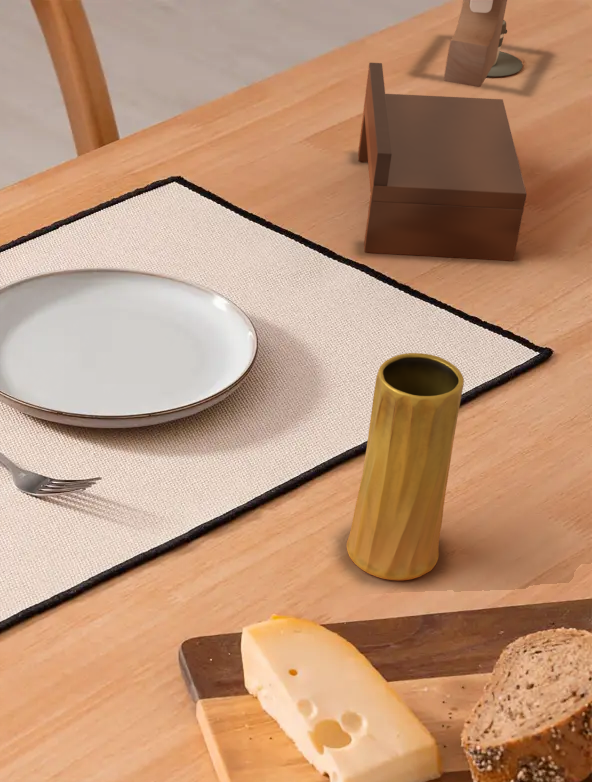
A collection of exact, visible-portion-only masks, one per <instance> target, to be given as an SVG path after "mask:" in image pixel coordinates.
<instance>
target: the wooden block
mask: <svg viewBox="0 0 592 782" xmlns="http://www.w3.org/2000/svg"><path fill="white" fill-rule="evenodd" d="M507 3H508V0H493V4H492V9H491V10H490V11H489V12H487V13H479V12H473V11H471V9H470V5H469V0H462V5H461V9H460V13H459V16H458V17H459V18H458V22H457V25H456V27H455V30H454V33H453V36H452V37H451V39H450V40H449V44H448V45H449V46H448V50H447V56H446V62H445V63H446V64H445V69H444V74H443V81H444V82H448V83H452V84H459V85H465V86H470V87H476V88H481V87H482V86H483V84H484V82H485V80H486V78H488V77H487V75H488V73H489V71H490V69H491V68H492V66H493V64H494V62H495V60H496V56H497V51H498V46H499V40H500V35H501V30H502V25H503V20H505V19H504V18H505V14H506V9H507Z"/></svg>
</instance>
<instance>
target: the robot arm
mask: <svg viewBox="0 0 592 782" xmlns="http://www.w3.org/2000/svg"><path fill="white" fill-rule="evenodd" d="M492 4H493V0H469V5H470V9H471V11H473V12H479V13H487V12H489V11H490V10H491V9H492Z"/></svg>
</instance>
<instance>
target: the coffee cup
mask: <svg viewBox="0 0 592 782" xmlns="http://www.w3.org/2000/svg"><path fill="white" fill-rule="evenodd" d="M507 33H508V29H507V21H506V20H505V19H504V20H503V25H502V30H501V35H500V40H499V46H498V51H497V56H496V60H495V62H494V64H493V66H492V68H491V69H490V71H489V73H488V75H487V77H486V78H503V77H509V76H513V75H515V74H518V73H519V72H520V71H521V70H522V69H523V67H524V65H523V62H522V61H521V59H520V58H518V57H516V56H515V55H513V54H511V53H509V52H505V51H502V50H501V48H502V45H503V41H504V37H505V34H507Z"/></svg>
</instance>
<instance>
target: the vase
mask: <svg viewBox="0 0 592 782" xmlns="http://www.w3.org/2000/svg"><path fill="white" fill-rule="evenodd" d="M375 377H376V378H375V382H374V383H375V384H374V391H373V398H372V405H371V413H370V422H369V427H368V435H367V443H366V450H365V456H364V462H363V469H362V475H361V480H360V482H359V483H360V484H359V488H358V492H357V497H356V501H355V506H354V510H353V515H352V522H351V527H350V531H349V534H348V538H347V541H346V551H347V554H348V556H349V558H350V560H351V561H352V562H353V564H355V566H357V567H358V568H359V569H361V570H362V571H363V572H365V573H367V574H368V575H371V576H374V577H376V578H380V579H382V580H388V581H389V580H390V581H410V580H414V579H417V578H420V577H422V576H425V575H426V574H428V573H429V572H431V571H432V570H433V569H434V568H435V566H436V564H437V563H438V560H439V558H440V557H439V556H440V555H439V554H440V553H439V543H440V536H441V531H442V523H443V516H444V507H445V498H446V492H447V486H448V480H449V473H450V467H451V461H452V455H453V454H452V453H453V449H454V448H453V447H454V440H455V434H456V429H457V424H458V416H459V412H460V411H459V410H460V406H461V401H462V394H463V390H464V384H465V378H464V376H463V374H462V372H461V370H459V368H458V367H457V366H455V365H454V364H453V363H451V362H450V361H448V360H446V359H445V358H444V357H440V356H436V355H434V354H429V353H422V352H407V353H406V352H405V353H401V354H396V355H395V356H392V357H391V358H388V359H386V360H385V361H383V363H382V364H381V365H380V367H379V368H378V371H377V373H376V376H375Z"/></svg>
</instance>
